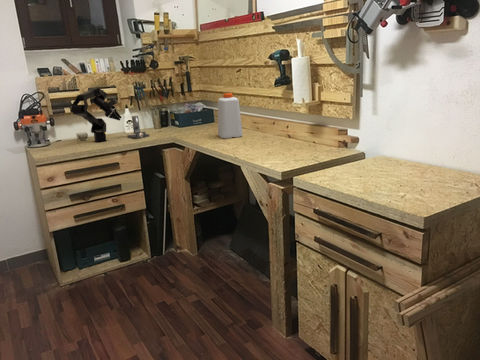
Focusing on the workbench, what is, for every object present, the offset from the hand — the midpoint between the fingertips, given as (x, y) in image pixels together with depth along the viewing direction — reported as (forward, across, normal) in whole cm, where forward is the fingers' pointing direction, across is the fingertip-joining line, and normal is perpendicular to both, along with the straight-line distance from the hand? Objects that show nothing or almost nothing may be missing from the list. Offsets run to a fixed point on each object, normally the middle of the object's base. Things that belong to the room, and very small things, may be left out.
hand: (120, 118), depth 273 cm
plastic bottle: (+60, -26, -41) cm, 78 cm away
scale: (+17, 0, +2) cm, 17 cm away
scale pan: (+15, 0, +1) cm, 15 cm away
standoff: (+15, 0, +1) cm, 15 cm away
